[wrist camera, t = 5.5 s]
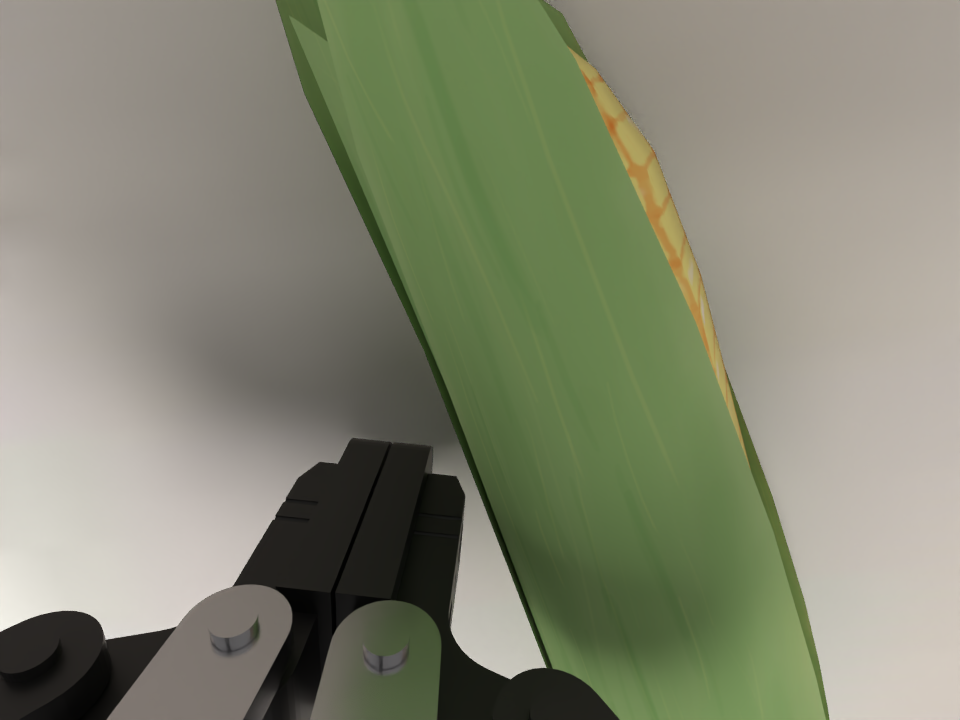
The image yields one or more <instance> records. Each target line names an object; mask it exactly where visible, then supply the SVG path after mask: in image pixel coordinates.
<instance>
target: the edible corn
mask: <svg viewBox="0 0 960 720" xmlns="http://www.w3.org/2000/svg"><path fill="white" fill-rule="evenodd" d="M276 3H277V6H278V10H279V13H280V16H281V19H282V23H283V26H284V29H285V32H286V36H287V39H288V42H289V45H290V49H291V52H292V55H293V58H294V62H295V65H296V68H297V71H298V75H299V78H300V81H301V84H302V88H303V91H304V94H305V96H306V98H307V100H308V102H309V105H310V107H311V109H312V111H313V113H314V115H315V117H316V120H317V122H318V124H319V126H320V128H321V130H322V132H323V135H324V137H325V139H326V141H327V143H328V145H329V148H330V150H331V152H332V154H333V156H334V158H335V160H336V163H337V165H338V167H339V169H340V171H341V173H342V175H343V178H344V180H345V182H346V184H347V186H348V188H349V191H350V193H351V195H352V197H353V199H354V201H355V203H356V206H357V208H358V210H359V212H360V214H361V216H362V218H363V221H364V223H365V225H366V227H367V229H368V231H369V234H370V236H371V238H372V240H373V242H374V244H375V246H376V249H377V251H378V253H379V255H380V257H381V259H382V262H383V264H384V266H385V268H386V270H387V272H388V274H389V277H390V279H391V281H392V283H393V285H394V287H395V289H396V292H397V294H398V296H399V298H400V300H401V302H402V305H403V307H404V309H405V311H406V313H407V315H408V317H409V320H410V322H411V324H412V326H413V328H414V330H415V332H416V335H417V337H418V339H419V341H420V343H421V345H422V348H423V350H424V352H425V354H426V357H427V360H428V362H429V365H430V367H431V370H432V372H433V375H434V378H435V380H436V383H437V385H438V388H439V391H440V393H441V396H442V398H443V401H444V403H445V406H446V409H447V411H448V414H449V416H450V419H451V421H452V424H453V427H454V429H455V432H456V434H457V437H458V439H459V442H460V445H461V447H462V450H463V452H464V455H465V457H466V460H467V463H468V465H469V468H470V470H471V473H472V475H473V478H474V481H475V483H476V486H477V488H478V491H479V493H480V496H481V499H482V501H483V504H484V506H485V509H486V511H487V514H488V517H489V519H490V522H491V524H492V527H493V529H494V532H495V535H496V537H497V540H498V542H499V545H500V547H501V550H502V553H503V555H504V558H505V560H506V563H507V565H508V568H509V571H510V573H511V576H512V579H513V581H514V584H515V586H516V589H517V592H518V594H519V597H520V599H521V602H522V605H523V607H524V610H525V612H526V615H527V618H528V620H529V623H530V626H531V628H532V631H533V633H534V636H535V639H536V641H537V644H538V646H539V649H540V652H541V654H542V657H543V659H544V662H545V665H546V667H547V668H552V669H557V670H561V671H564V672H567V673H569V674H572V675H574V676H576V677H577V678H579V679H581V680H582V681H584V682H585V683H586V684H588V685H589V686H590V687H591V688H592V689H593V690H594V691H595V692H596V693H597V694H598V695H599V696H600V697H601V698H602V700H603V701H604V702H605V703H606V704H607V705H608V707H609V708H610V709H611V710H612V711H613V712H614V713H615V715H616V716H617V717H618V718H619V719H620V720H829V714H828V707H827V702H826V697H825V691H824V686H823V681H822V675H821V670H820V665H819V660H818V656H817V652H816V648H815V643H814V639H813V635H812V631H811V626H810V622H809V618H808V614H807V610H806V605H805V601H804V598H803V595H802V591H801V588H800V585H799V582H798V578H797V575H796V572H795V569H794V565H793V562H792V559H791V556H790V552H789V549H788V546H787V543H786V539H785V536H784V533H783V530H782V526H781V523H780V520H779V517H778V513H777V510H776V507H775V504H774V500H773V497H772V495H771V492H770V489H769V486H768V484H767V481H766V478H765V476H764V473H763V470H762V467H761V465H760V462H759V459H758V457H757V454H756V451H755V448H754V446H753V443H752V440H751V438H750V435H749V432H748V430H747V427H746V424H745V421H744V419H743V416H742V413H741V411H740V408H739V405H738V402H737V400H736V397H735V394H734V392H733V389H732V386H731V383H730V381H729V378H728V375H727V373H726V370H725V367H724V364H723V360H722V356H721V352H720V348H719V344H718V340H717V336H716V332H715V328H714V324H713V320H712V317H711V313H710V309H709V305H708V301H707V297H706V293H705V289H704V285H703V281H702V277H701V274H700V271H699V269H698V266H697V263H696V261H695V258H694V255H693V253H692V250H691V247H690V245H689V242H688V240H687V237H686V234H685V232H684V229H683V226H682V224H681V221H680V218H679V216H678V213H677V210H676V208H675V205H674V202H673V200H672V197H671V194H670V192H669V189H668V186H667V184H666V181H665V178H664V176H663V173H662V171H661V168H660V165H659V163H658V160H657V157H656V155H655V152H654V150H653V149H652V147H651V146H650V145H649V143H648V142H647V140H646V139H645V138H644V136H643V135H642V133H641V132H640V131H639V129H638V128H637V126H636V125H635V124H634V122H633V121H632V119H631V118H630V117H629V115H628V114H627V112H626V111H625V110H624V108H623V107H622V105H621V104H620V103H619V101H618V100H617V98H616V97H615V96H614V94H613V93H612V91H611V90H610V89H609V87H608V86H607V84H606V83H605V82H604V80H603V79H602V77H601V76H600V74H599V73H598V72H597V70H596V69H595V68H594V67H593V66H591V65H590V64H589V63H588V61H587V59H586V58H585V56H584V54H583V52H582V50H581V48H580V46H579V45H578V43H577V41H576V39H575V37H574V35H573V33H572V31H571V30H570V28H569V26H568V24H567V22H566V20H565V18H564V16H563V15H562V13H560V12H559V11H557V10H556V9H555V8H553V7H552V6H550V5H549V4H548V3H546V2H545V1H543V0H276Z"/></svg>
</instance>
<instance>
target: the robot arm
mask: <svg viewBox="0 0 960 720" xmlns="http://www.w3.org/2000/svg"><path fill="white" fill-rule="evenodd" d="M432 463H433V447H432V446H425V445H415V444H406V443H396V442H394V443H393V444H392V442H385V441H376V440H366V439H357V438H352V439H351V440H350V442H349V444H348V446H347V448H346V449H345V451H344V453H343V455H342V457H341V459H340V461H339V463H338V464H334V463H325V462H319V463H318V464H316V465H315V466H314V467H312V468H311V469H310V470H308V471H307V472H306V473H304V474H303V475H301V476H300V477H299V478H298V479H297V481H296V482H295V484H294V486H293V487H292V489H291V491H290V492H289V494H288V496H287V497H286V501H285V502H283V504H282V506H281V507H280V509H279V511H278V512H277V514H276V518H275V520H273V521H272V522H271V524H270V526H269V527H268V529H267V531H266V532H265V534H264V535H263V537H262V539H261V540H260V542H259V544H258V545H257V547H256V549H255V550H254V552H253V554H252V555H251V557H250V559H249V560H248V562H247V564H246V565H245V567H244V569H243V570H242V572H241V574H240V575H239V577H238V579H237V580H236V582H235V584H234V585H233V587H230V588H227V589H224V590H221V591H219V592H216V593H214V594H212V595H211V596H209V597H207V598H205V599H204V600H202V601H201V602H199V603H198V604H197V605H196V606H195V607H193V608H192V609H191V610H190V611H189V612H188V613H187V615H186V616H185V617H184V618H183V619H182V621H181V622H180V623H179V625H178V626H177V627H174V628H171V629H166V630H162V631H156V632H150V633H144V634H138V635H132V636H126V637H120V638H114V639H108V640H105V636H104V633H103V630H102V627H101V625H100V623H99V622H98V621H97V620H96V619H95V618H94V617H92V616H91V615H88V614H85V613H83V612H77V611H59V612H52V613H47V614H43V615H39V616H36V617H33V618H30V619H28V620H25V621H23V622H20V623H18V624H16V625H14V626H12V627H10V628H8V629H5V630H3V631H1V632H0V720H620V719H619V718H618V717H617V716H616V715H615V713H614V712H613V711H612V710H611V709H610V708H609V707H608V705H607V704H606V703H605V702H604V701H603V700H602V698H601V697H600V696H599V695H598V694H597V693H596V692H595V691H594V690H593V689H592V688H591V687H590V686H589V685H588V684H586V683H585V682H584V681H582V680H581V679H579V678H577V677H576V676H574V675H572V674H569V673H567V672H564V671H561V670H557V669H552V668H537V669H531V670H528V671H524V672H522V673H520V674H518V675H516V676H515V677H513V678H512V679H511V680H510V679H508V678H506V677H504V676H501V675H499V674H497V673H495V672H493V671H490V670H488V669H486V668H484V667H483V666H481V665H479V664H477V663H476V662H474V661H473V660H472V659H470V658H469V657H468V656H467V655H466V654H465V653H464V652H463V651H462V650H461V648H460V647H459V646H458V644H457V643H456V641H455V639H454V637H453V635H452V632H451V622H452V614H453V607H454V600H455V592H456V584H457V577H458V570H459V562H460V552H461V541H462V529H463V517H464V505H465V494H464V492H463V490H462V487H461V485H460V483H459V481H458V479H457V476H448V475H439V474H432Z"/></svg>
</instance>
